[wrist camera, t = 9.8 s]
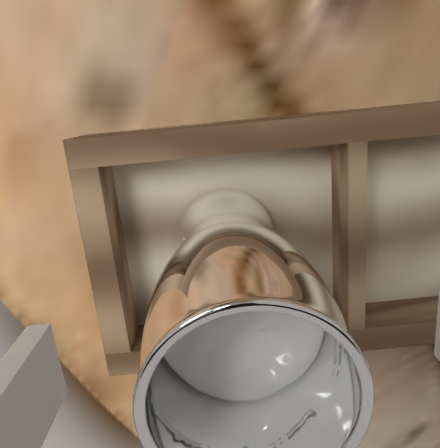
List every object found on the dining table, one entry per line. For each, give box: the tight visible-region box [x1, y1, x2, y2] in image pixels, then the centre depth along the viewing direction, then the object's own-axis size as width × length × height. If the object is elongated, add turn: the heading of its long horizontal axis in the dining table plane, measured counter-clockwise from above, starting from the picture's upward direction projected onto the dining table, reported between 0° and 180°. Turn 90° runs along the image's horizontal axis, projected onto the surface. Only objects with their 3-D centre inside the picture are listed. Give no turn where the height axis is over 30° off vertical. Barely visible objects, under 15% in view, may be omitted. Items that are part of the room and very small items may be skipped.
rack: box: [63, 101, 440, 376], centre depth 24 cm, size 14×30×4 cm, turn 95°
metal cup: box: [133, 190, 374, 448], centre depth 18 cm, size 7×7×15 cm
